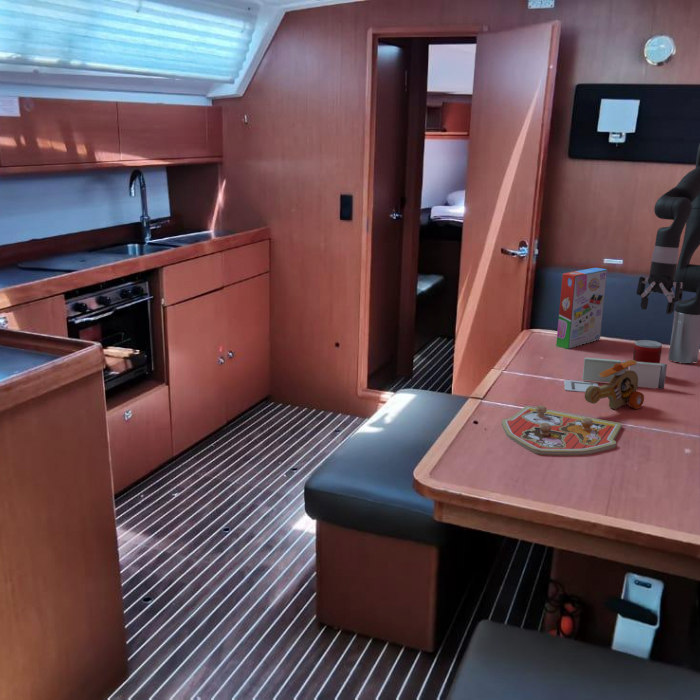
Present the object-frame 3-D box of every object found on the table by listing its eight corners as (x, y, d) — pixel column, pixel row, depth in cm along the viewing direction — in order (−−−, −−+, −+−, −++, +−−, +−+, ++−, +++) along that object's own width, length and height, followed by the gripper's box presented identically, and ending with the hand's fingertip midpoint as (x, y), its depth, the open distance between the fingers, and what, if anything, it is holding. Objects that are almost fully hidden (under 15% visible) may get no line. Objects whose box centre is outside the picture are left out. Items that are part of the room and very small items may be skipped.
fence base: (619, 383, 228) (622, 360, 226) (663, 387, 225) (666, 363, 223) (620, 385, 226) (622, 361, 224) (664, 389, 223) (667, 365, 221)
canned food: (661, 380, 232) (666, 346, 229) (636, 379, 232) (640, 345, 229) (652, 372, 240) (656, 340, 237) (627, 372, 240) (631, 339, 237)
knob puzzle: (627, 430, 192) (629, 413, 191) (602, 471, 168) (604, 452, 167) (518, 408, 207) (520, 393, 205) (481, 443, 182) (482, 426, 181)
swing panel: (618, 381, 228) (620, 360, 226) (618, 383, 226) (621, 361, 224) (582, 378, 230) (584, 357, 229) (582, 380, 229) (584, 359, 227)
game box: (587, 337, 282) (595, 267, 275) (600, 340, 278) (608, 269, 271) (555, 346, 269) (562, 272, 262) (568, 349, 265) (575, 274, 258)
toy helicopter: (645, 407, 208) (652, 360, 204) (597, 421, 197) (603, 372, 193) (621, 398, 214) (626, 353, 211) (573, 411, 203) (578, 364, 200)
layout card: (564, 380, 230) (564, 379, 230) (597, 383, 228) (597, 382, 228) (564, 390, 221) (564, 389, 221) (599, 393, 218) (599, 392, 218)
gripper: (692, 263, 230) (683, 314, 233) (649, 258, 240) (642, 307, 244) (679, 264, 225) (671, 316, 229) (637, 258, 236) (629, 308, 240)
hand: (656, 311), depth 236 cm, fingers open, 8 cm apart
